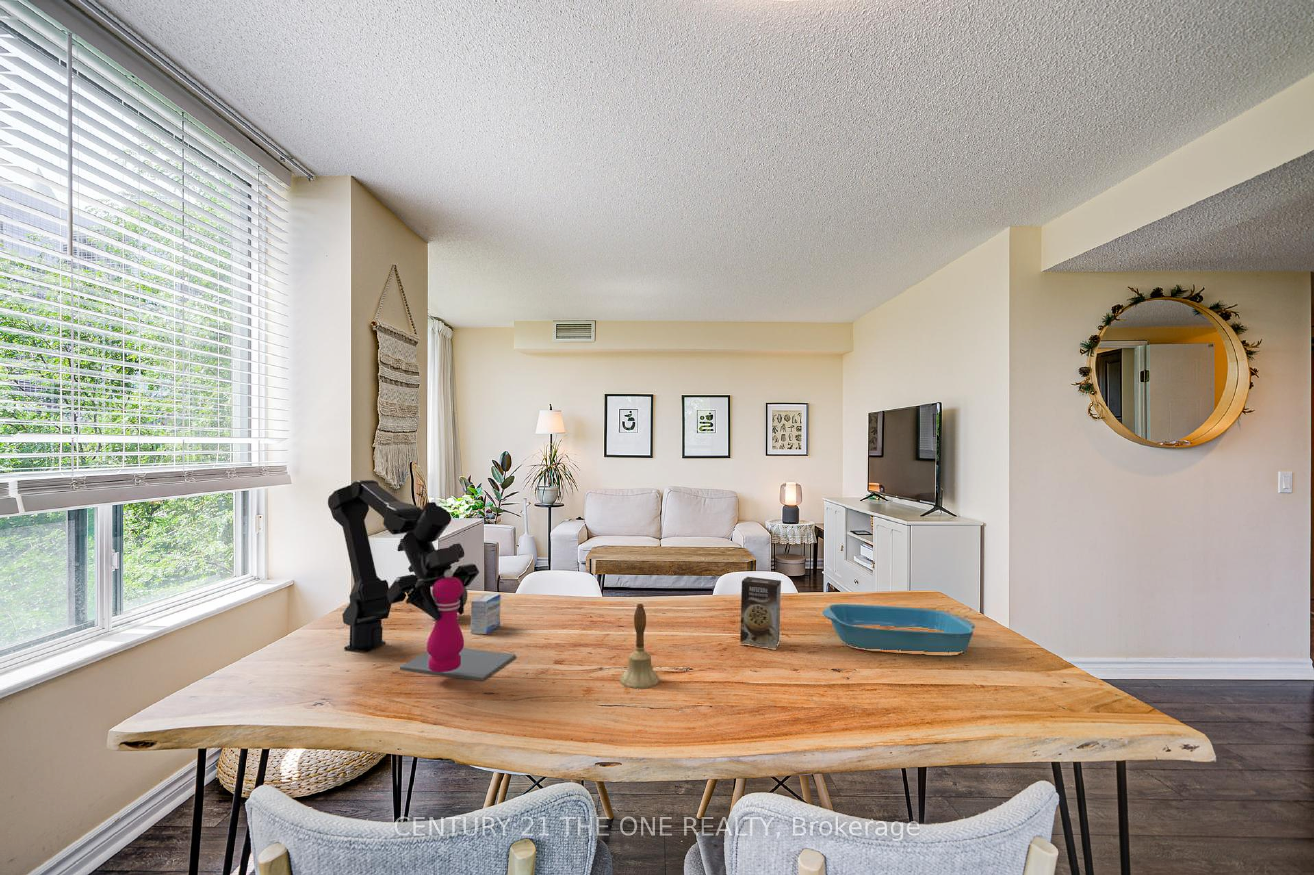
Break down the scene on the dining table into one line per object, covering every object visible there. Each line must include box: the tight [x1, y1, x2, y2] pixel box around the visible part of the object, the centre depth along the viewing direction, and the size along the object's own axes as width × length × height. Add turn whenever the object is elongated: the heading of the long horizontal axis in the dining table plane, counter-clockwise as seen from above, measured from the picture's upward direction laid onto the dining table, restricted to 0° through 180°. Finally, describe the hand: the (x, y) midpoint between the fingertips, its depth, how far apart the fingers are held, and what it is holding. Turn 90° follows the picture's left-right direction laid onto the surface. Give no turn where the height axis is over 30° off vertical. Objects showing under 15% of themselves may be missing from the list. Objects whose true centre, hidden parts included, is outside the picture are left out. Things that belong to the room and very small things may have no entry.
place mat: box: [399, 647, 517, 682], centre depth 124 cm, size 20×14×1 cm
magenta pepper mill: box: [426, 569, 465, 672], centre depth 115 cm, size 7×7×20 cm
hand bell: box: [619, 603, 660, 689], centre depth 117 cm, size 8×8×16 cm
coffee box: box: [739, 576, 782, 649], centre depth 140 cm, size 9×6×16 cm
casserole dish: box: [822, 603, 976, 653], centre depth 143 cm, size 37×22×7 cm, turn 84°
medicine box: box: [470, 593, 502, 635], centre depth 147 cm, size 8×4×9 cm, turn 168°
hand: (450, 616), depth 114 cm, fingers closed on magenta pepper mill, 5 cm apart
